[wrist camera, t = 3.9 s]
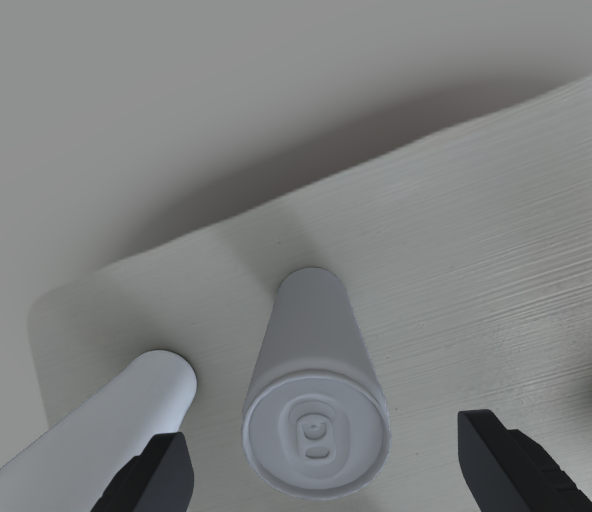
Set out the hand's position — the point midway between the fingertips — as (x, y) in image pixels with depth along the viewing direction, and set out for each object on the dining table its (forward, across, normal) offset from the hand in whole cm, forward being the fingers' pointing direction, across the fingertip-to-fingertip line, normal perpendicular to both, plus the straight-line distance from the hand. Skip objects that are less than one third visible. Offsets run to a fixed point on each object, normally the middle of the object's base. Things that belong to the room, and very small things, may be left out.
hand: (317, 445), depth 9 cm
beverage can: (+12, 0, 0) cm, 13 cm away
